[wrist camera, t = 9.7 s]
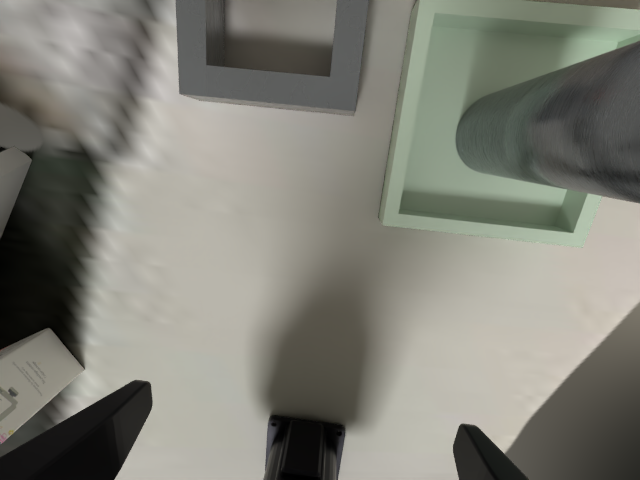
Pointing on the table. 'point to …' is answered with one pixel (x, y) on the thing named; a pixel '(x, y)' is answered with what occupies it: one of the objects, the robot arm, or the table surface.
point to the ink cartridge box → (32, 377)
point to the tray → (466, 88)
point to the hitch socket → (267, 86)
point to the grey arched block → (11, 180)
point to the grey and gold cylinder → (563, 128)
